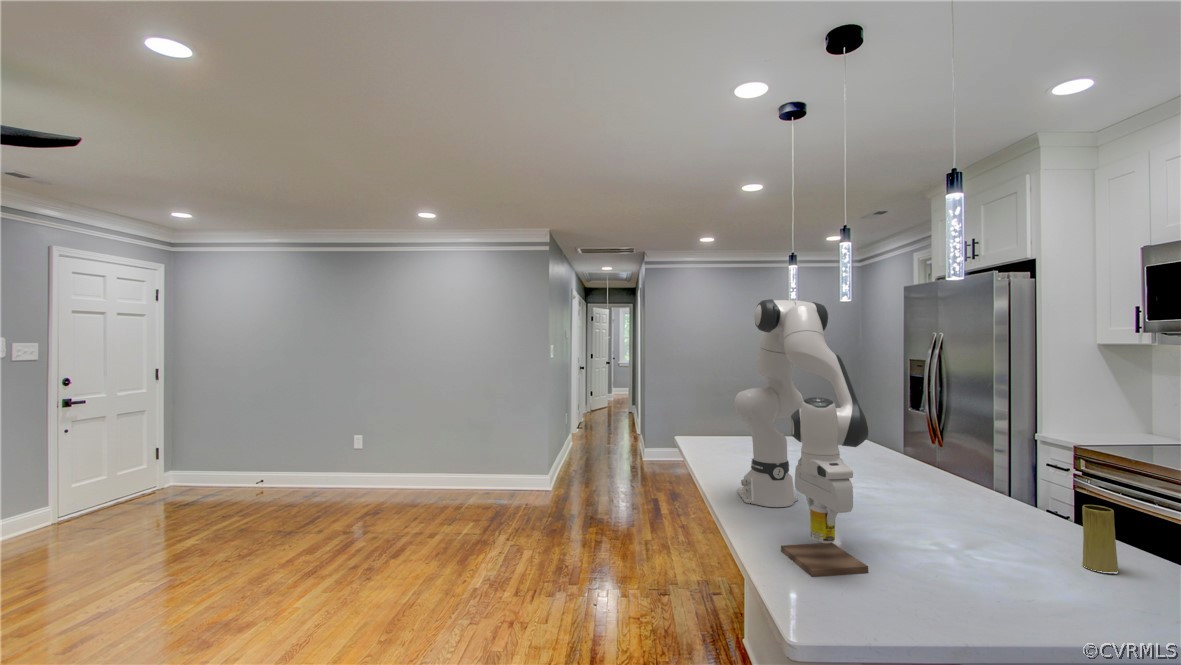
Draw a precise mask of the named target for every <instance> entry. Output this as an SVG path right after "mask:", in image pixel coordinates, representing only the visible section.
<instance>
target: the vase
mask: <svg viewBox="0 0 1181 665" xmlns="http://www.w3.org/2000/svg"><path fill="white" fill-rule="evenodd" d="M1081 507H1082V508H1081V510H1082V534H1083V536H1082V538H1083V543H1082V564H1083V565H1082V564H1081V565H1082V566H1083V567H1084V566H1085V567H1087V568H1089V569H1092V570H1096V571H1102V572H1117V571H1119V572H1120V570H1119V565H1118V563H1119V562H1118V554H1117V553H1118V552H1117V542H1116V528H1115V512H1114V509H1112V508H1109V507H1106V506H1102V505H1095V504H1083V505H1082V506H1081ZM1085 567H1084V568H1085Z"/></svg>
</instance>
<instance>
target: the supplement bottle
mask: <svg viewBox="0 0 1181 665" xmlns="http://www.w3.org/2000/svg"><path fill="white" fill-rule="evenodd" d="M827 515H828V511H827V507H826V506H824V505H822V504H821V503H819V502H817V501H815V500H814V504H813V505H811V514H810V538H811V540H812V541H815V542H816V543H833V544H834V542H835V540H836V524H835V525H831V526H830V525H828V524H826V523H825V516H827Z"/></svg>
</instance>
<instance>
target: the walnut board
mask: <svg viewBox="0 0 1181 665" xmlns="http://www.w3.org/2000/svg"><path fill="white" fill-rule="evenodd" d="M780 552H781V553H782V554H784V555H785V556H788V557H787V558H789V559H790V560H791V561H792V560H793V561H792V562H793V563H795V564H796V565H797V566H799V567H800V568H801V569H802V570H803V571H804V572H806V573H807V574H808V575H810V576H811V577H814V578H815V577H828V576H841V575H842V576H843V575H856V574H857V575H858V574H868V573H869V566H868V565H867V564H866V563H864V562H862V561H861V560H860V559H858V558H856V557H854V556H853V555H852V554H850V553H848V552H847V551H846V550H844V549H843V548H840V546H838V545H837V544H835V543H834V542H833V543H820V542H816V543H801V544H799V543H798V544H787V545H786V544H784V545H780Z"/></svg>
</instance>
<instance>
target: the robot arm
mask: <svg viewBox="0 0 1181 665" xmlns="http://www.w3.org/2000/svg"><path fill="white" fill-rule="evenodd" d="M753 317H754V324H755V327H756V328H757V329H758V330H759V331H760V332H763V333H762V336H761V339H760V340H761V341H760V347H759V353H758V360H757V370H758V373H760V374H761V375H762V376H764V377H765V379H766V386H765V387H755V388H752V387H751V388H749V389H745V390H742V391H739V392H738V393H737V394H736V395H735V398H734V401H733V406H734V410H735V413H736V414H737V416H738V417H739V418H740V419H742V421H743V422H745V424H746V425H747V427H748V429H749V431H750V434H751V439H752V440H751V441H752V456H753V458H751V463H750V465H751V466H750V469H749V471H748V472H747V473H746V474H745V475H743V478H742V479H741V481H740V484H741V486H742V487H738V488H736V492H737V491H738V492H737V494H738V493H739V494H740V495H739V494H738V495H739V496H740V498H741V497H742V498H741V500H744V501H743V502H744V503H745V502H746V503H745V504H750V503H751V504H752V505H757V506H762V507H768V508H769V507H770V508H784V507H785V508H786V507H790V506H793V505H794V504H795V502H798V501H799V499H798V496H796V495H795V490H796V492H798V493H800V494H802V495H804V496H806V498H805V499H806V502H807V504H808V508H809V514H810V515H811V505H813V504H814V500H815V501H817V502H819V503H821V504H822V505H824V506H826V507H827V511H828V515H827V516H825V523H826V524H828V525H830V526H831V525H835V526H836V518H837V515H838V514H842V513H844V514H846V513H851V512H852V510H853V509H854V488H853V487H854V486H853V483H852V481H851V479H852V478H853V477H854V472H853V469H852V468H851V467H850V466H849V465H847V463H845V462H844V460H843V459H842V458H841V457H840V456H841V455H840V453H841V451H840V448H839V446H842V447H849V448H850V447H851V448H857V447H859V446H860V445H861V444H863V443H864V442H865V441H866V440H867V439H868V437H869V425H868V424H869V423H868V421H867V419H866V415H865V413H864V412H863V409H862V407H861V406H860V403H859V400H858V398H857V395H856V393H855V390H854V387H853V385H852V382H851V379H850V376H849V374H848V370H847V368H846V366H845V364H844V362H843V360H842V358H841V356H840V355H839V354H838V353H835V352H833V351H832V350H831V349H830V347H829V346H828V345H827V342H826V339H825V338H826V337H825V333H824V332H825V330H827V327H828V322H829V313H828V309H827V308H826V306H825V305H824V304H822V303H818V302H816V301H812V302H811V301H804V300H798V299H791V300H789V299H772V298H771V299H764V300H760V302H759V303H757V305H756V309H755V311H754V315H753ZM793 366H794V367H796V368H797V369H799V370H802V371H803V372H807V373H811V374H815V375H817V376H820V377H822V378H823V379H826V380H827V381H829V382H830V383H831V385H832V387H833V389H834V392H835V395H836V399H837V401H838V404H839V406H840V407H837V408H836V404H835V402H834V401H833V400H831V399H830V398H825V397H822V396H821V397H820V396H819V397H817V396H815V397H814V396H812V397H808V398H805V399H804V398H803V395H802V394H801V392H800V391H799V390H798V389H797V388H796V386H795V384H794V380H793ZM789 418H790V419H791V433H790V435H791V437H792V438H794V439H795V440H796V441H798V442H799V443H802V444H801V448H800V458H799V459H798V460H797V465H796V466H795V471H794V480H793V476H792V475H791V474H790V473H789V472H790V462H789V460H788V441H787V437H786V435H784V434H783V433H782V432H781V431H779V430H778V429H777V427H776V424H775V420H779V419H789ZM794 488H795V489H794Z"/></svg>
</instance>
